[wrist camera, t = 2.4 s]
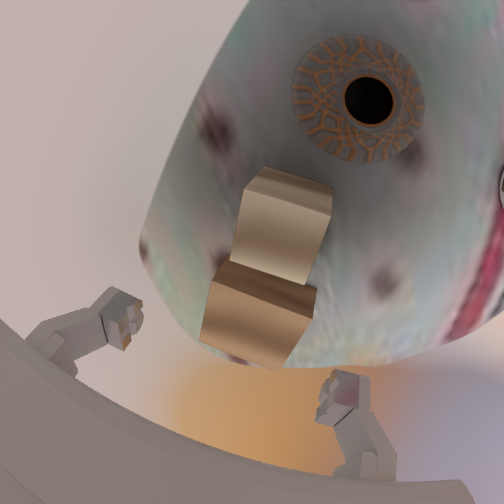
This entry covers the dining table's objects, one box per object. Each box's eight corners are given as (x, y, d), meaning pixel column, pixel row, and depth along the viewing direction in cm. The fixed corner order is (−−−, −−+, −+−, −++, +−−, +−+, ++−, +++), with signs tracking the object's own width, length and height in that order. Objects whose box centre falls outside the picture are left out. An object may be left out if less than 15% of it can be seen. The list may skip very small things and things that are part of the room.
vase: (278, 85, 17) (234, 83, 9) (359, 28, 13) (377, -17, 6) (343, 166, 18) (347, 222, 11) (424, 115, 15) (484, 137, 8)
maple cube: (264, 165, 20) (243, 188, 16) (332, 187, 19) (331, 216, 15) (250, 225, 23) (229, 260, 19) (311, 245, 22) (304, 285, 18)
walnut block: (229, 252, 25) (211, 280, 22) (317, 286, 24) (312, 319, 21) (213, 313, 30) (198, 340, 26) (286, 341, 29) (278, 371, 26)
